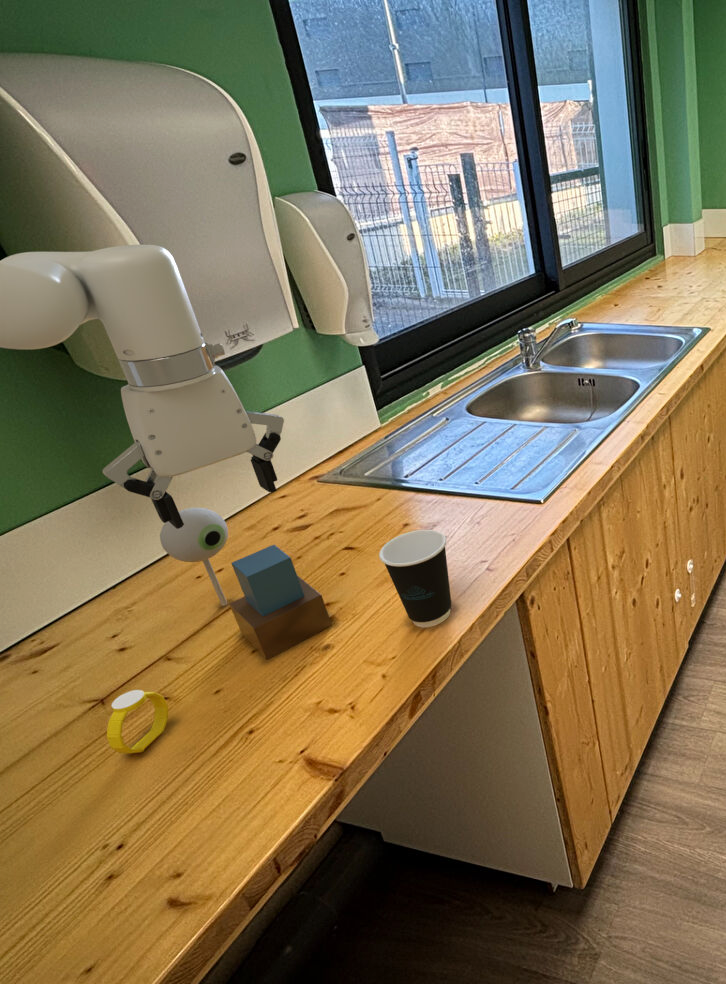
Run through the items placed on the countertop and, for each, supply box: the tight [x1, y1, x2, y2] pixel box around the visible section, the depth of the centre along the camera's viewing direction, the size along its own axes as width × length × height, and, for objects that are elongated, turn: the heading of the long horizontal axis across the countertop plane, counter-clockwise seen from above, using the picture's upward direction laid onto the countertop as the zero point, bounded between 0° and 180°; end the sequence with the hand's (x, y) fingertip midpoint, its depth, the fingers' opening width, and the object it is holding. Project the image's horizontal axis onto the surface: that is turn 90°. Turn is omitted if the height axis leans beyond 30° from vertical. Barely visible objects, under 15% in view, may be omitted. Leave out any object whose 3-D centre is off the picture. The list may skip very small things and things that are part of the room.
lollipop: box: [159, 507, 229, 607], centre depth 93 cm, size 7×7×15 cm
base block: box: [228, 575, 333, 661], centre depth 90 cm, size 8×8×5 cm
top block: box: [230, 544, 304, 616], centre depth 88 cm, size 5×5×6 cm
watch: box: [106, 689, 169, 754], centre depth 74 cm, size 6×3×6 cm, turn 177°
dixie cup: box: [378, 529, 452, 628], centre depth 90 cm, size 8×8×11 cm
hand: (224, 505), depth 81 cm, fingers open, 9 cm apart
